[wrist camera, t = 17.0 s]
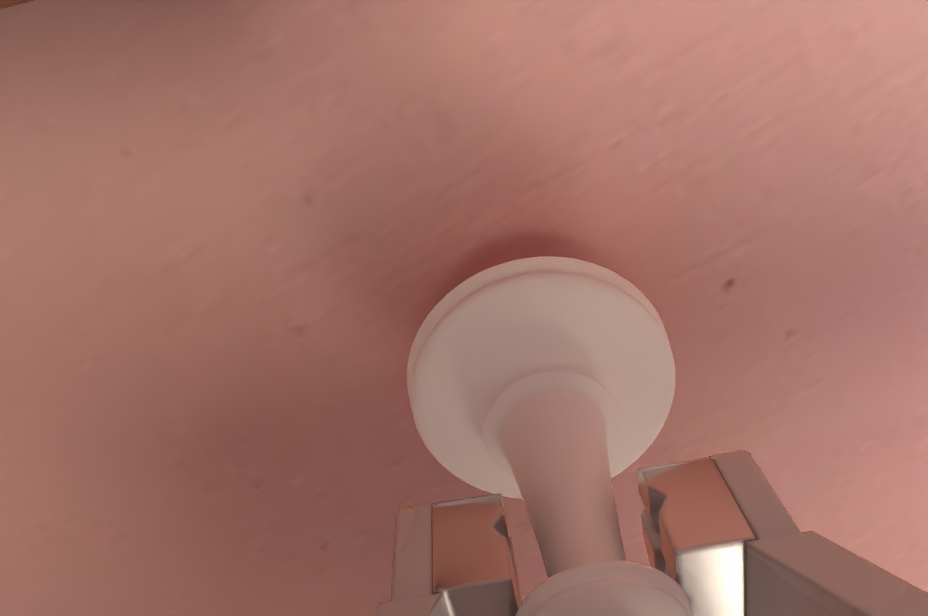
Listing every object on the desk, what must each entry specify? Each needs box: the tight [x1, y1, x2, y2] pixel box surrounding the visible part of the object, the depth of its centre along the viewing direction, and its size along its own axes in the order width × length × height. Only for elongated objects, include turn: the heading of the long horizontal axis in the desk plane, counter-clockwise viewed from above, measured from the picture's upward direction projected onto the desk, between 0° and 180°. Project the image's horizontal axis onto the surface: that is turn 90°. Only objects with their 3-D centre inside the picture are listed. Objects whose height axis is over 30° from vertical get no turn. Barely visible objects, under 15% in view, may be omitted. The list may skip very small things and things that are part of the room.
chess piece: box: [407, 256, 692, 616], centre depth 9 cm, size 5×5×10 cm
